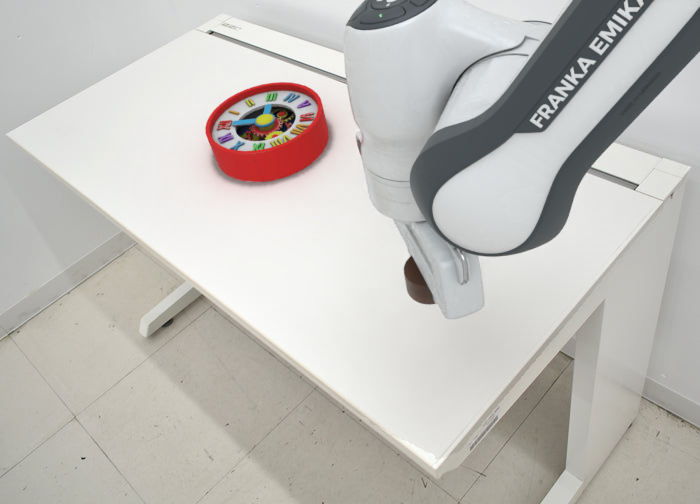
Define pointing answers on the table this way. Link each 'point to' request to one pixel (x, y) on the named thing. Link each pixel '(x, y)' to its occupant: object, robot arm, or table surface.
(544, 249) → the table surface
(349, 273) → the table surface
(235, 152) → the toy clock
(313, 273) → the table surface
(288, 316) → the table surface
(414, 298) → the cylinder
